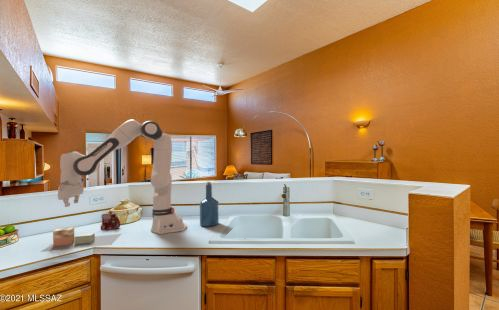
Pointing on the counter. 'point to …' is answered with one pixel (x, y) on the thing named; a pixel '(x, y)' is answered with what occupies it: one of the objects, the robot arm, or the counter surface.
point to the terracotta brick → (63, 241)
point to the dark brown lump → (110, 221)
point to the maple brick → (63, 233)
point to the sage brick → (84, 238)
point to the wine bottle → (209, 209)
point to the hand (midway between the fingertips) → (71, 204)
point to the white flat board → (97, 242)
